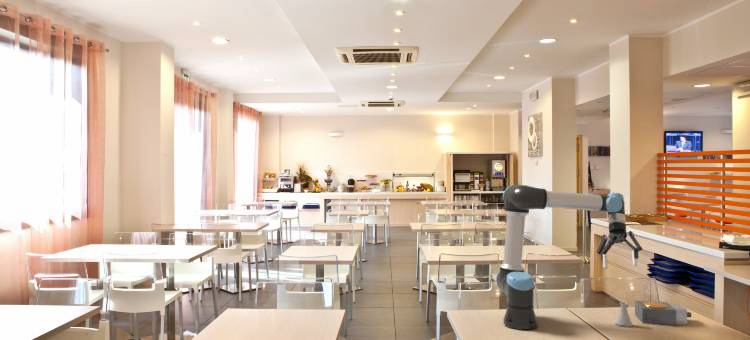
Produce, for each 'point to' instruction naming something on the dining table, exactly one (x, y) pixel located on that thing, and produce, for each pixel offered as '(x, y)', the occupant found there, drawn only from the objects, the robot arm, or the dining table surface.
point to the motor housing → (661, 313)
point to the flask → (623, 316)
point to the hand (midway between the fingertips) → (620, 266)
